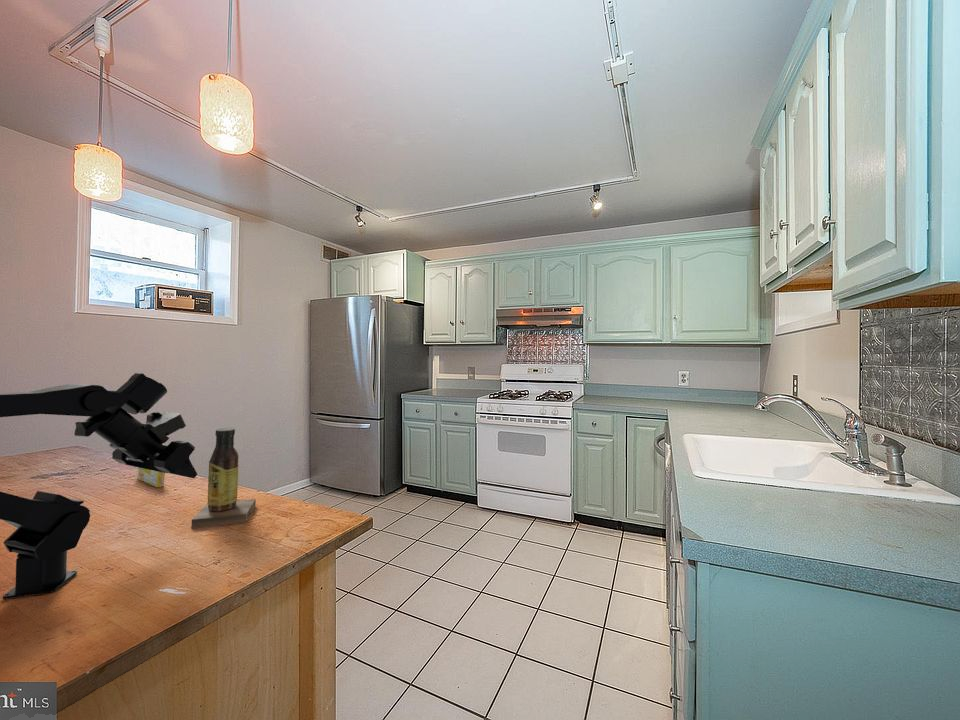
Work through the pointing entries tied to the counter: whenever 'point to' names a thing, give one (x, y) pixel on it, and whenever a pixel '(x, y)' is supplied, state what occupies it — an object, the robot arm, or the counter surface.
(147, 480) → the candy box
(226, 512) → the trivet
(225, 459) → the sauce bottle
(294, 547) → the counter surface
